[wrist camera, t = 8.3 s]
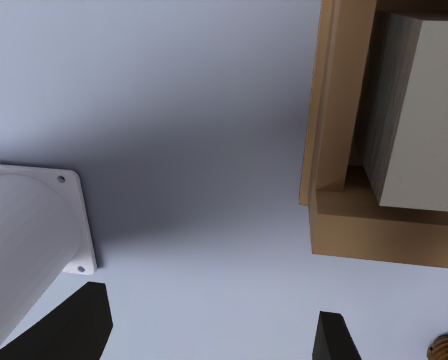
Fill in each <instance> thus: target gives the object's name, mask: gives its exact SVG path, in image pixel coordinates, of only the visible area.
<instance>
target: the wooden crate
mask: <svg viewBox="0 0 448 360" xmlns="http://www.w3.org/2000/svg"><path fill="white" fill-rule="evenodd" d="M378 11H448V0H322V4H321V12H320V21H319V30H318V38H317V47H316V56H315V64H314V73H313V81H312V90H311V99H310V107H309V116H308V125H307V133H306V142H305V151H304V159H303V168H302V177H301V185H300V194H299V205H308V208H309V221H310V234H311V247H312V254H319V255H328V256H338V257H347V258H356V259H366V260H375V261H385V262H394V263H403V264H413V265H422V266H432V267H441V268H448V211H436V210H425V209H413V208H401V207H390V206H379V203H378V201H377V198H376V196H375V193H374V191H373V189H372V186H371V184H370V181H369V179H368V176H367V174H366V171H365V169H364V166H363V164H362V162H361V159H360V157H359V154H358V152H357V149H356V147H355V144H354V142H355V136H356V131H357V125H358V119H359V114H360V108H361V103H362V97H363V92H364V86H365V81H366V75H367V70H368V64H369V59H370V53H371V48H372V42H373V37H374V31H375V26H376V20H377V15H378Z"/></svg>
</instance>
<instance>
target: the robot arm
mask: <svg viewBox="0 0 448 360" xmlns="http://www.w3.org/2000/svg"><path fill="white" fill-rule="evenodd" d="M61 176H63V177H64V178H65V180H63V179H62V178H61ZM81 266H82V267H81ZM96 270H97V264H96V259H95V254H94V249H93V244H92V239H91V234H90V229H89V224H88V219H87V214H86V209H85V204H84V198H83V193H82V188H81V183H80V178H79V176H78V174H77V173H76V172H74V171H72V170H62V169H50V168H38V167H26V166H14V165H2V164H0V345H1V344H2V343H3V342H4V340H5V339H6V338H7V337H8V336H9V334H10V333H11V332H12V331H13V330H14V328H15V327H16V326H17V325H18V323H19V322H20V321H21V320H22V319H23V317H24V316H25V315H26V314H27V313H28V311H29V310H30V309H31V308H32V306H33V305H34V304H35V303H36V302H37V300H38V299H39V298H40V297H41V296H42V294H43V293H44V292H45V291H46V289H47V288H48V287H49V286H50V285H51V283H52V282H53V281H54V280H55V279H56V277H57V276H58V275H59V274H60V272H69V273H77V274H85V275H93V274H94V273H95V272H96ZM112 328H113V322H112V317H111V312H110V306H109V301H108V296H107V291H106V285H105V283H97V282H87V283H86V284H85V285H83V286H82V287H81V288H80V289H78V290H77V291H76V292H75V293H74V294H72V295H71V296H70V297H69V298H67V299H66V300H65V301H64V302H62V303H61V304H60V305H59V306H57V307H56V308H55V309H54V310H52V311H51V312H50V313H49V314H47V315H46V316H45V317H43V318H42V319H41V320H40V321H38V322H37V323H36V324H35V325H33V326H32V327H31V328H29V329H28V330H27V331H25V332H24V333H22V334H21V335H20V336H18V337H17V338H16V339H14V340H13V341H11V342H10V343H9V344H7V345H6V346H5V347H3V348H2V349H0V360H99V359H100V357H101V355H102V353H103V350H104V348H105V346H106V343H107V341H108V338H109V335H110V333H111V330H112ZM312 360H362V359H361V357H360V355H359V353H358V351H357V349H356V346H355V344H354V342H353V340H352V338H351V335H350V333H349V331H348V328H347V326H346V324H345V321H344V318H343V316H342V315H341V314H339V313H331V312H323V311H320V314H319V320H318V325H317V331H316V337H315V342H314V348H313V354H312Z"/></svg>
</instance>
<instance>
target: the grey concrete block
mask: <svg viewBox="0 0 448 360" xmlns="http://www.w3.org/2000/svg"><path fill="white" fill-rule="evenodd" d="M354 144H355V147H356V149H357V152H358V154H359V157H360V159H361V162H362V164H363V166H364V169H365V171H366V174H367V176H368V179H369V181H370V184H371V186H372V189H373V191H374V193H375V196H376V198H377V201H378V203H379V206H390V207H401V208H413V209H425V210H436V211H448V11H378V15H377V20H376V26H375V31H374V37H373V42H372V48H371V53H370V59H369V64H368V70H367V75H366V81H365V86H364V92H363V97H362V103H361V108H360V114H359V119H358V125H357V131H356V136H355V142H354Z"/></svg>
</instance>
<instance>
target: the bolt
mask: <svg viewBox="0 0 448 360" xmlns="http://www.w3.org/2000/svg"><path fill="white" fill-rule="evenodd" d="M431 347H432V348H433V349H431V348H429V347H428V350H427V358H428V360H448V336H442V337H439V338H437V339H436V340H434V344H433V345H431Z"/></svg>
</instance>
